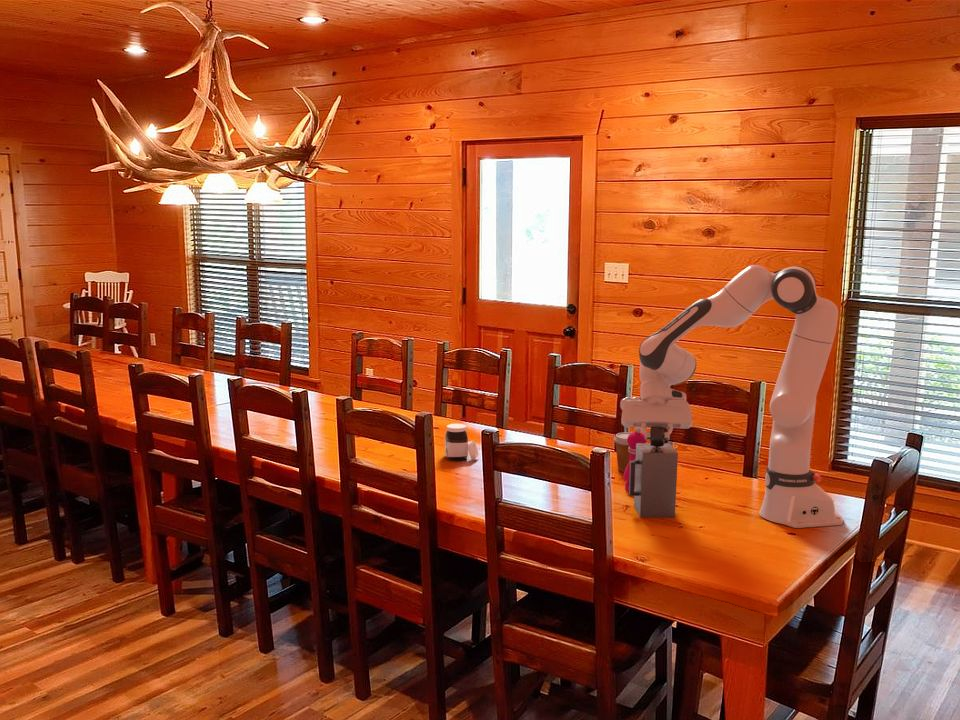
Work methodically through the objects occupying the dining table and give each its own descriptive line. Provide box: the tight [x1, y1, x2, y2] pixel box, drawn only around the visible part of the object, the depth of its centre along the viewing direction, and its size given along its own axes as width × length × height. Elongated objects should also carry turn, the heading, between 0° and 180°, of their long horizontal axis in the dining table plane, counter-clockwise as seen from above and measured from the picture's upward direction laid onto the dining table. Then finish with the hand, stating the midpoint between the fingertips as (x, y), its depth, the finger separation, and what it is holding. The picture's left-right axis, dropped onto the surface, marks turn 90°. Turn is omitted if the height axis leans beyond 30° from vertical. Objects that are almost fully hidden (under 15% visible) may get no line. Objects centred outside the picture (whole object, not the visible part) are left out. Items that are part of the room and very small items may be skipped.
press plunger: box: [649, 426, 666, 449], centre depth 253 cm, size 8×8×17 cm
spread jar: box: [444, 423, 479, 462], centre depth 306 cm, size 12×11×12 cm
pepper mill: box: [623, 427, 648, 492], centre depth 274 cm, size 7×7×20 cm
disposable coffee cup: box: [613, 431, 632, 473], centre depth 294 cm, size 10×10×12 cm
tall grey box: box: [628, 442, 679, 518], centre depth 254 cm, size 12×10×19 cm
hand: (657, 439), depth 251 cm, fingers closed on press plunger, 4 cm apart
